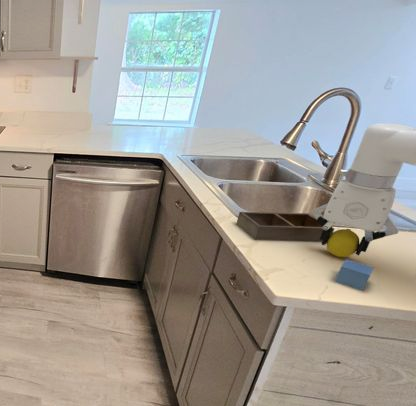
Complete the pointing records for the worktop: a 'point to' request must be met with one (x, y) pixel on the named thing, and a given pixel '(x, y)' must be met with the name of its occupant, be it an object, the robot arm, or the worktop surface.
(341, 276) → the blue block
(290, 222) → the tray
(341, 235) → the lemon
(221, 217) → the worktop surface
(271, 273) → the worktop surface
